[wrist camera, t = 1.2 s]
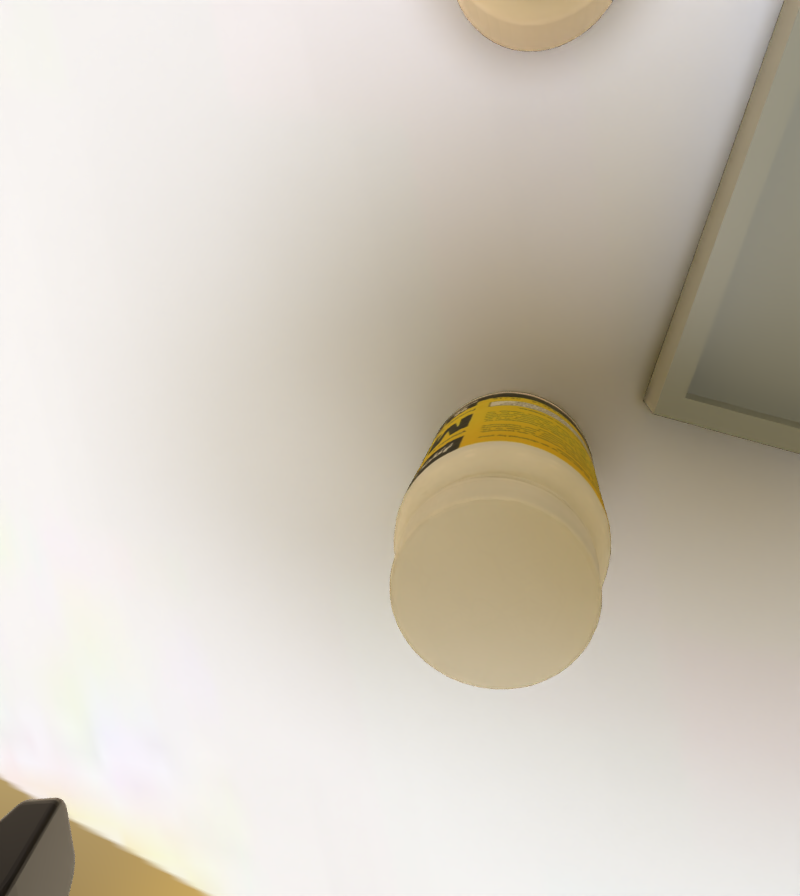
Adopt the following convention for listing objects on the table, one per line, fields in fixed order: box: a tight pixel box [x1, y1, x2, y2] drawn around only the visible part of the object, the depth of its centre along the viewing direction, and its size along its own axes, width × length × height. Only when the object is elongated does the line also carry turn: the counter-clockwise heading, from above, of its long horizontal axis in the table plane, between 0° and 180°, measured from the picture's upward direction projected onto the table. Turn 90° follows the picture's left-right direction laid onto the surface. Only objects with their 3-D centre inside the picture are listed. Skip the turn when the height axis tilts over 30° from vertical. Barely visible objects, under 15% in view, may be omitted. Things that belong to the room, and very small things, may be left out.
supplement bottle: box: [390, 392, 611, 689], centre depth 17 cm, size 5×5×8 cm
